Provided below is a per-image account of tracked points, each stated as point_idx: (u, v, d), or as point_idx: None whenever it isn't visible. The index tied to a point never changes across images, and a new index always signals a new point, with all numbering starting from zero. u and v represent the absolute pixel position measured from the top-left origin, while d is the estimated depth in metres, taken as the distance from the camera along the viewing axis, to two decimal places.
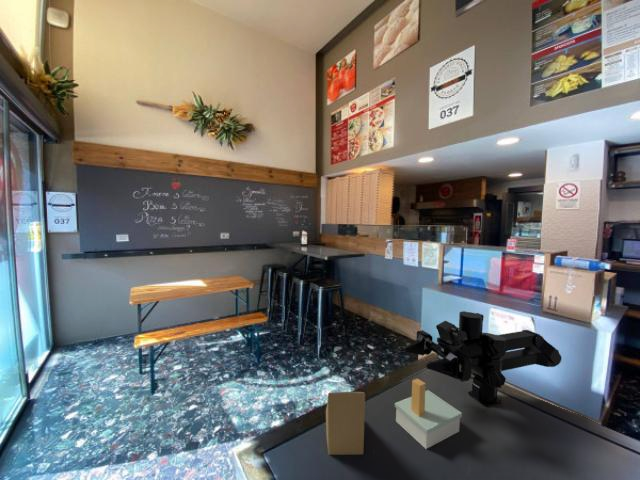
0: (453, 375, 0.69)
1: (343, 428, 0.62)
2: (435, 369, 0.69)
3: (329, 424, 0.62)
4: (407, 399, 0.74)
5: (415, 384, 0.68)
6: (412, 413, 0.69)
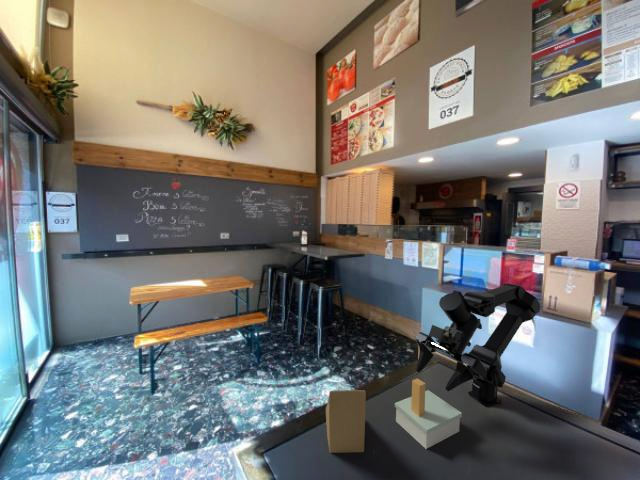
0: (471, 377, 0.67)
1: (344, 426, 0.62)
2: (455, 386, 0.67)
3: (330, 422, 0.62)
4: (407, 399, 0.74)
5: (415, 384, 0.68)
6: (412, 413, 0.69)
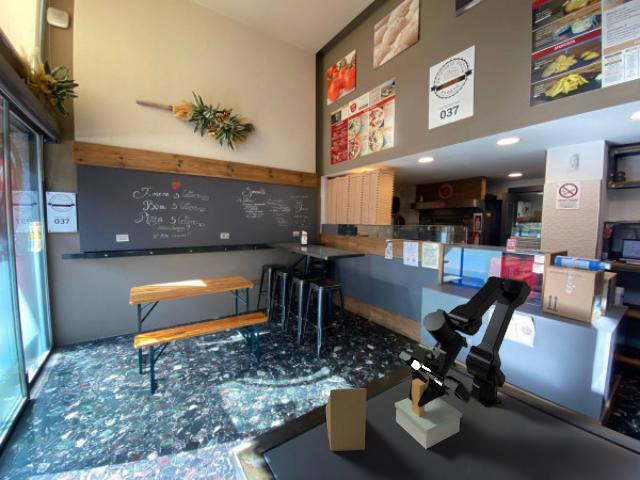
0: (443, 393, 0.68)
1: (345, 424, 0.63)
2: (427, 402, 0.67)
3: (331, 420, 0.63)
4: (407, 399, 0.74)
5: (415, 384, 0.68)
6: (412, 413, 0.69)
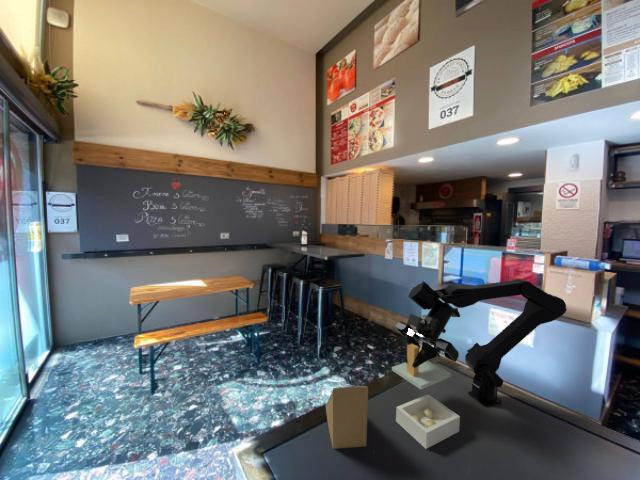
0: (435, 355, 0.76)
1: (347, 422, 0.64)
2: (420, 363, 0.76)
3: (334, 419, 0.63)
4: (403, 364, 0.82)
5: (410, 348, 0.77)
6: (407, 374, 0.77)
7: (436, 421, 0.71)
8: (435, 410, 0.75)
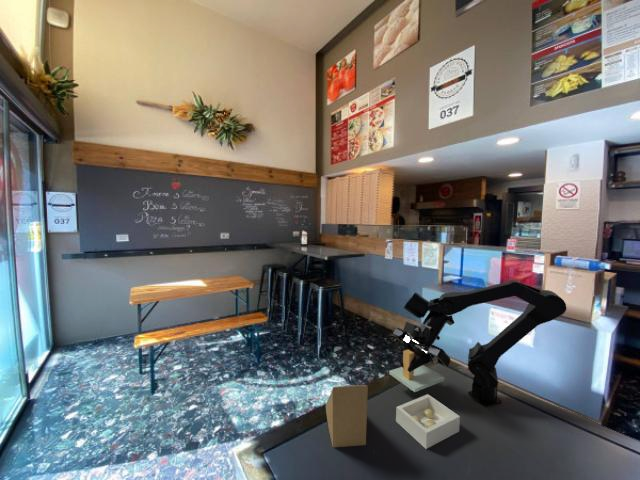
0: (429, 360, 0.82)
1: (347, 421, 0.64)
2: (415, 367, 0.82)
3: (333, 417, 0.64)
4: (400, 368, 0.89)
5: (406, 353, 0.83)
6: (403, 377, 0.83)
7: (436, 421, 0.71)
8: (435, 410, 0.75)
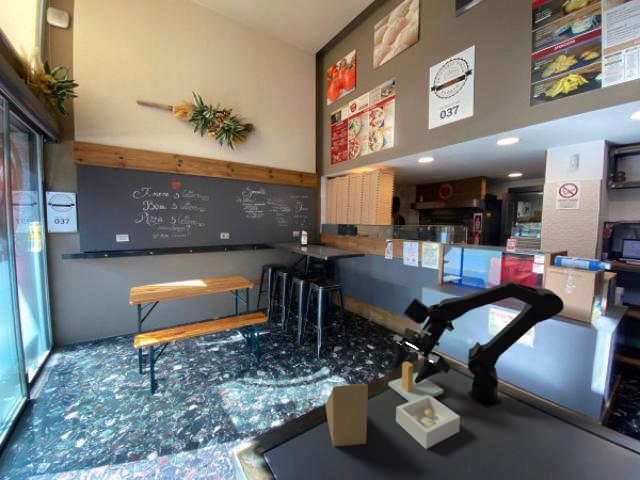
0: (437, 371, 0.80)
1: (347, 420, 0.65)
2: (422, 379, 0.79)
3: (334, 417, 0.64)
4: (399, 379, 0.89)
5: (405, 365, 0.83)
6: (402, 389, 0.83)
7: (436, 421, 0.71)
8: (435, 410, 0.75)
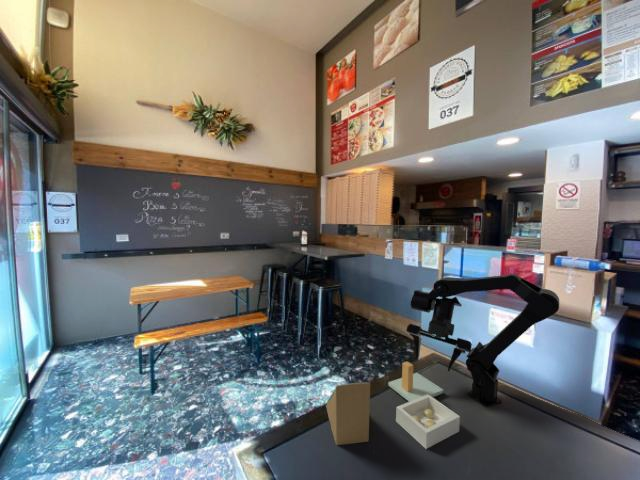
0: None
1: (350, 418, 0.65)
2: (452, 365, 0.82)
3: (337, 415, 0.64)
4: (399, 379, 0.89)
5: (405, 366, 0.83)
6: (402, 389, 0.83)
7: (436, 421, 0.71)
8: (435, 410, 0.75)
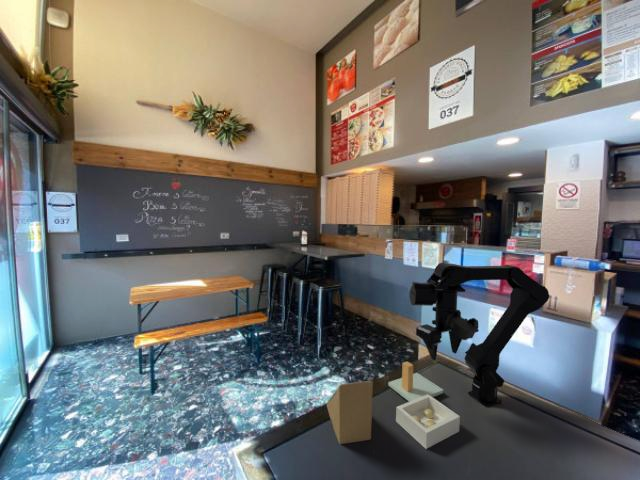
0: None
1: (353, 417, 0.65)
2: None
3: (340, 415, 0.65)
4: (399, 379, 0.89)
5: (405, 365, 0.83)
6: (402, 389, 0.83)
7: (436, 421, 0.71)
8: (435, 410, 0.75)
